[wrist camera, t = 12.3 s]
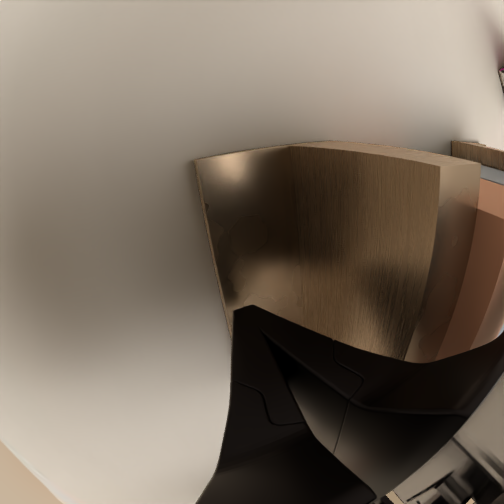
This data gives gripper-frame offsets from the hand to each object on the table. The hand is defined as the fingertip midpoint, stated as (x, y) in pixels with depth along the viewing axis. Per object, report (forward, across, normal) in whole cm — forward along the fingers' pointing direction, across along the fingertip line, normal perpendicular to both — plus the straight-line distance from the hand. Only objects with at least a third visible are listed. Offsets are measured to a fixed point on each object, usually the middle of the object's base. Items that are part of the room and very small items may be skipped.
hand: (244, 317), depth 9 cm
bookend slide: (+1, -2, 0) cm, 3 cm away
